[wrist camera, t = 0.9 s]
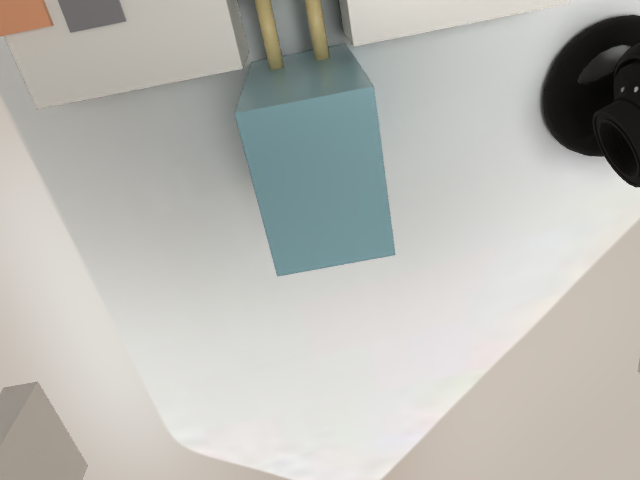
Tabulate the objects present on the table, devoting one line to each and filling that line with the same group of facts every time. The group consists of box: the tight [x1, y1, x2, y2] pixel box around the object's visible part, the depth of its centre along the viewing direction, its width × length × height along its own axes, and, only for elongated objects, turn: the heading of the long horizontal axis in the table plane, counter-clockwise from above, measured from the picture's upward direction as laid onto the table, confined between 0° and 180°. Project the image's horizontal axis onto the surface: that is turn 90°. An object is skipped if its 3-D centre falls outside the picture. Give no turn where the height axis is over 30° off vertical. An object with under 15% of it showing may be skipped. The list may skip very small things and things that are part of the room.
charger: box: [235, 0, 395, 276], centre depth 24 cm, size 10×5×10 cm, turn 10°
